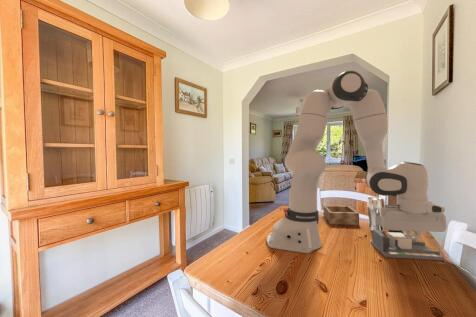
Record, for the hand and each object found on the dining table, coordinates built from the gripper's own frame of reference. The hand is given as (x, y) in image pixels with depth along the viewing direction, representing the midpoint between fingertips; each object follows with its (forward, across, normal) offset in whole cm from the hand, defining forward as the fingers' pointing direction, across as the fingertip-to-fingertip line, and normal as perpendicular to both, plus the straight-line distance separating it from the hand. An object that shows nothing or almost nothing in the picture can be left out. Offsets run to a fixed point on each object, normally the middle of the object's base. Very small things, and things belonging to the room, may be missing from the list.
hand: (411, 241), depth 76 cm
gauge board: (+4, -2, 0) cm, 4 cm away
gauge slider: (+2, -4, -1) cm, 5 cm away
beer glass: (+4, -2, +21) cm, 21 cm away
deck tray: (+4, -14, +34) cm, 37 cm away
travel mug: (+4, +6, +18) cm, 19 cm away
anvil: (+2, -10, 0) cm, 11 cm away
